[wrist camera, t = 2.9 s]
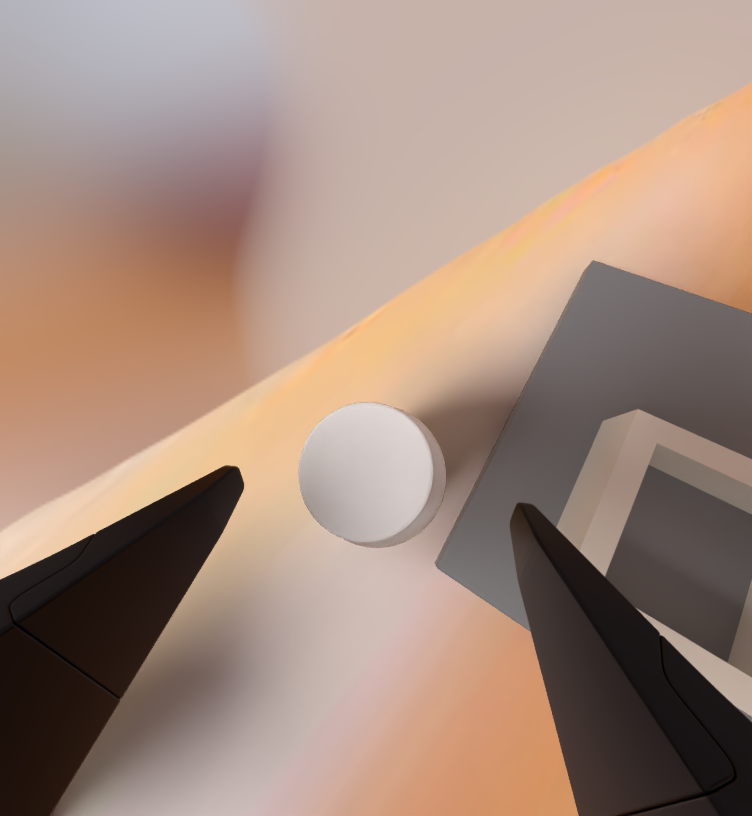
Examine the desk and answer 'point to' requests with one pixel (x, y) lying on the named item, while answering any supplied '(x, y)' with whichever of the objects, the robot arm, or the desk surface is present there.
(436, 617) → the desk surface
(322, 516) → the supplement bottle
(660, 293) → the awning socket
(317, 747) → the desk surface
